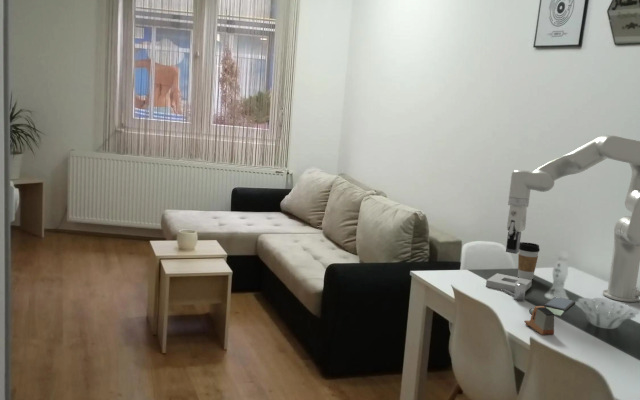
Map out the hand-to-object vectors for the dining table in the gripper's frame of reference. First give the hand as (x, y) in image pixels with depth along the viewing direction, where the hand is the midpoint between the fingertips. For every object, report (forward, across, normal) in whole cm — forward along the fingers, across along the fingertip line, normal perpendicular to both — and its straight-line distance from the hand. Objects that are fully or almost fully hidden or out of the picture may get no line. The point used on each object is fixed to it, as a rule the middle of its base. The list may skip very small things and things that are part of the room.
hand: (512, 247), depth 231 cm
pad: (+16, -21, -21) cm, 34 cm away
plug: (+16, -16, -8) cm, 24 cm away
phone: (+16, -10, -21) cm, 28 cm away
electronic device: (+16, -43, -21) cm, 51 cm away
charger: (+2, 0, 0) cm, 2 cm away
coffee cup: (+16, +18, -2) cm, 24 cm away
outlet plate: (+16, 0, 0) cm, 16 cm away
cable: (+16, -11, -3) cm, 19 cm away
